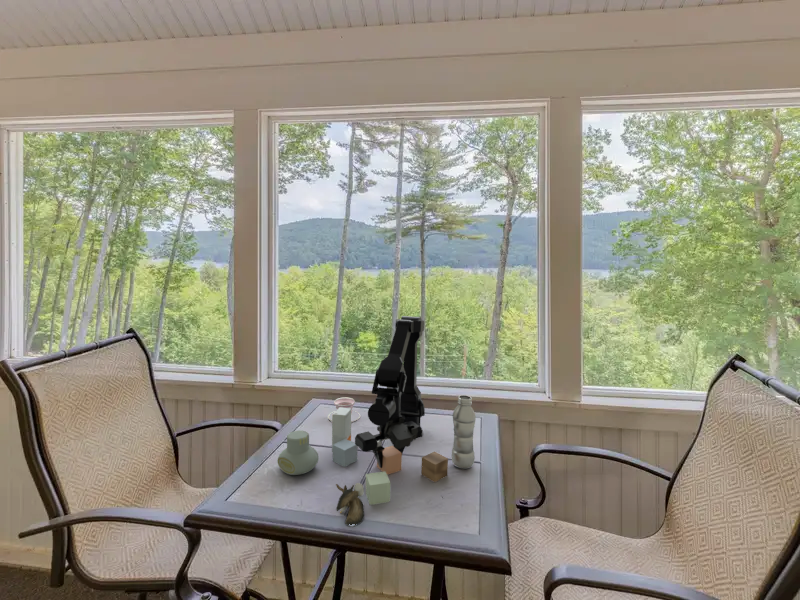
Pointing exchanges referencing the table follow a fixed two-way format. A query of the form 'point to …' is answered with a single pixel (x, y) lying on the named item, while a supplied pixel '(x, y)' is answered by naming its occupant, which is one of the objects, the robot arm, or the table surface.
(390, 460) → the terracotta cube
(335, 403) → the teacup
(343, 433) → the skincare box
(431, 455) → the walnut cube
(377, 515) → the table surface
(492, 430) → the table surface
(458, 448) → the plastic bottle
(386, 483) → the sage cube
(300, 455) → the air freshener
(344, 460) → the slate cube
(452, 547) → the table surface
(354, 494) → the deer head figurine
